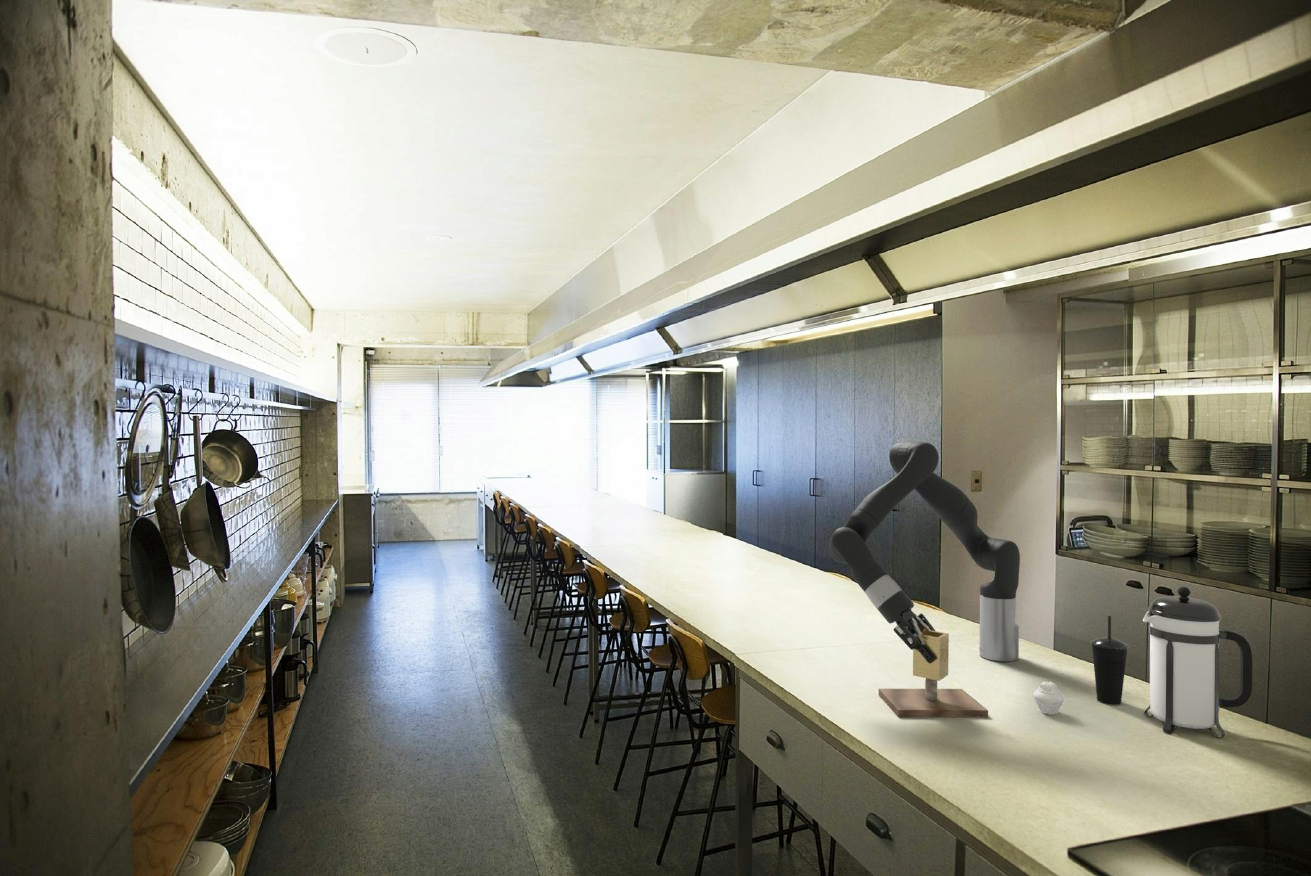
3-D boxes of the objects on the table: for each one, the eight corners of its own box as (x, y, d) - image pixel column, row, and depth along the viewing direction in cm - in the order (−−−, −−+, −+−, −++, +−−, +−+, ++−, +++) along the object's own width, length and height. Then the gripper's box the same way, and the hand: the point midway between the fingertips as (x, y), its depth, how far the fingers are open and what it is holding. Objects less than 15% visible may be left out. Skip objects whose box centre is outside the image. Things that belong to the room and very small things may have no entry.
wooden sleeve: (922, 669, 176) (922, 628, 176) (948, 674, 172) (948, 633, 172) (912, 675, 171) (913, 634, 171) (939, 680, 168) (939, 638, 168)
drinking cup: (1123, 697, 177) (1123, 613, 177) (1132, 708, 170) (1132, 621, 170) (1086, 694, 180) (1087, 611, 180) (1094, 704, 173) (1094, 618, 173)
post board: (961, 694, 179) (961, 666, 179) (988, 716, 165) (988, 686, 165) (878, 694, 179) (878, 666, 179) (897, 716, 165) (898, 685, 165)
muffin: (1026, 709, 170) (1027, 678, 170) (1046, 705, 172) (1046, 675, 172) (1050, 718, 164) (1051, 687, 164) (1070, 714, 166) (1070, 683, 166)
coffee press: (1208, 747, 149) (1209, 597, 149) (1126, 720, 163) (1127, 583, 163) (1253, 732, 157) (1254, 589, 157) (1171, 707, 171) (1172, 577, 171)
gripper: (887, 593, 171) (939, 655, 163) (911, 584, 182) (960, 642, 175) (865, 613, 174) (915, 674, 167) (889, 603, 185) (937, 660, 178)
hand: (938, 657), depth 171 cm, fingers closed on wooden sleeve, 6 cm apart
